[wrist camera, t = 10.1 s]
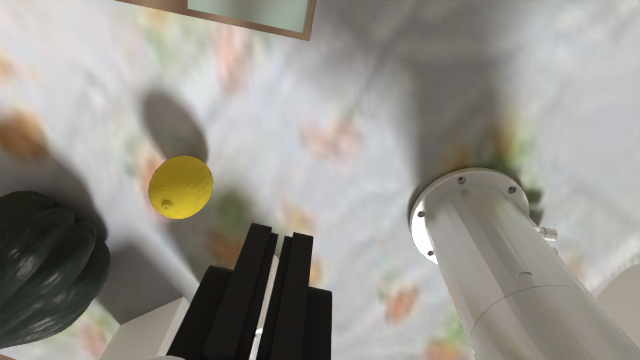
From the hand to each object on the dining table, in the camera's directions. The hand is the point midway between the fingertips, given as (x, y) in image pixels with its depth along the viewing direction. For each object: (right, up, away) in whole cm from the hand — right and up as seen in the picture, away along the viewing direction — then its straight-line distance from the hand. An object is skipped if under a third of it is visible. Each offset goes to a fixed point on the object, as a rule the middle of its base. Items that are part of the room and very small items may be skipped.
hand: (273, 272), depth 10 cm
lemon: (-12, +4, +29) cm, 32 cm away
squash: (-29, -4, +34) cm, 45 cm away
